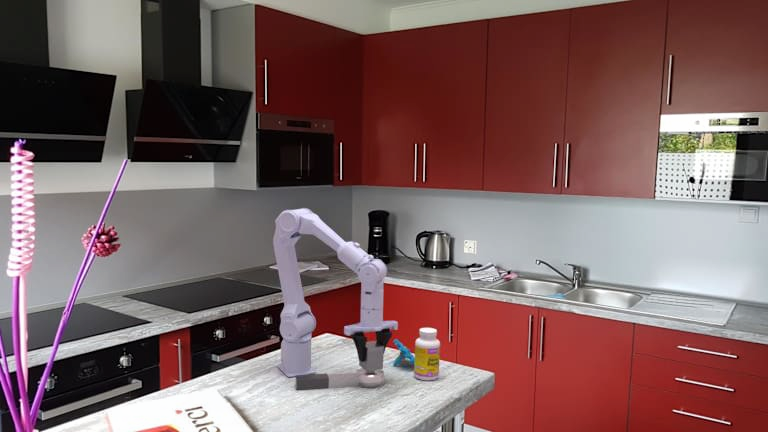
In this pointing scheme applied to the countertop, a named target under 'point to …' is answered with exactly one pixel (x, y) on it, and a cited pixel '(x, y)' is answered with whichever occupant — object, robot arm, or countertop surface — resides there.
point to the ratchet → (341, 380)
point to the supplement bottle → (427, 355)
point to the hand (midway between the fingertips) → (370, 359)
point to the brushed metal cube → (373, 356)
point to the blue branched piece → (403, 353)
